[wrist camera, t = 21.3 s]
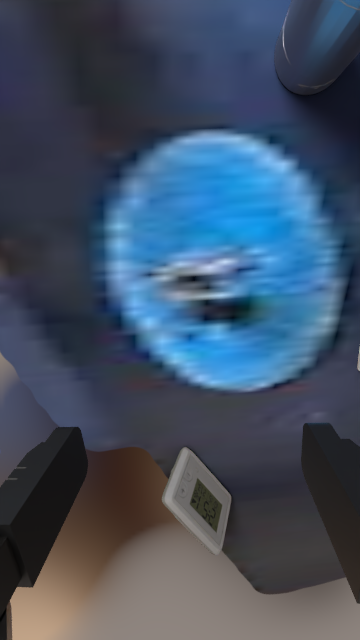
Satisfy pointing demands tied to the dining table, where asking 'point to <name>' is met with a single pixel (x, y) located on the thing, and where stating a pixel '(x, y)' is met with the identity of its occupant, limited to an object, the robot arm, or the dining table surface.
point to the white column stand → (358, 361)
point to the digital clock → (198, 500)
